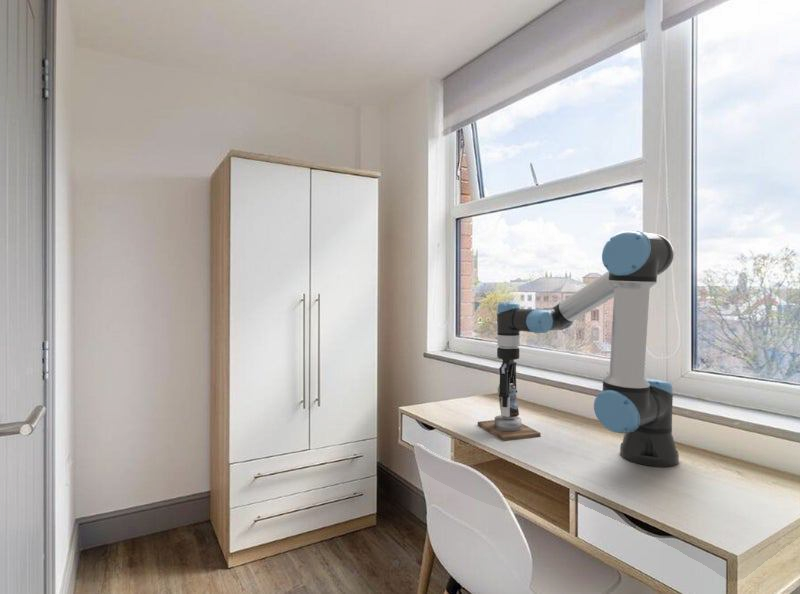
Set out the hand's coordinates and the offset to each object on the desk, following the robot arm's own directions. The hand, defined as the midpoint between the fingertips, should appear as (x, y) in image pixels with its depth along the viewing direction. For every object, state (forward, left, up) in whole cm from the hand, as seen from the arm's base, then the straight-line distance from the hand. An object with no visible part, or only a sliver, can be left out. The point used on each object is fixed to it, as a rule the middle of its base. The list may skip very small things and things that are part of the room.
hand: (508, 413), depth 163 cm
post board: (0, 0, -6) cm, 6 cm away
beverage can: (0, 0, -2) cm, 2 cm away
